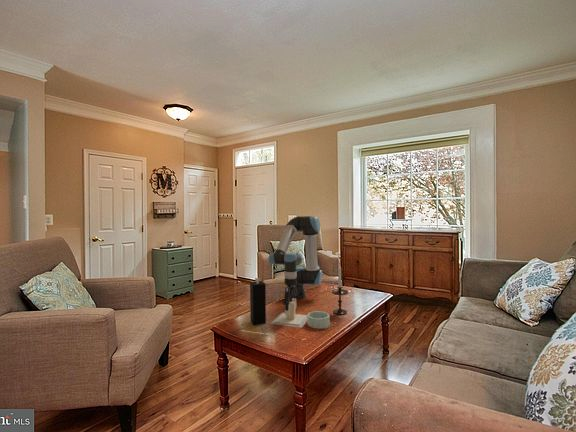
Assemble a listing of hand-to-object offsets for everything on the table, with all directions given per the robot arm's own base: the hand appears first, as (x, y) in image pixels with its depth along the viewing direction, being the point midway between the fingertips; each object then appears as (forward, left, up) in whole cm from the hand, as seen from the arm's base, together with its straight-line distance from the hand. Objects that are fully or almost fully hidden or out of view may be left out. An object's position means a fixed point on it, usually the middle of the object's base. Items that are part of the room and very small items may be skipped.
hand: (290, 311), depth 185 cm
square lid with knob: (0, 0, -5) cm, 5 cm away
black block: (+10, -18, -6) cm, 21 cm away
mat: (0, 0, -6) cm, 6 cm away
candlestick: (-23, +27, -6) cm, 36 cm away
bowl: (+2, +18, -6) cm, 19 cm away
